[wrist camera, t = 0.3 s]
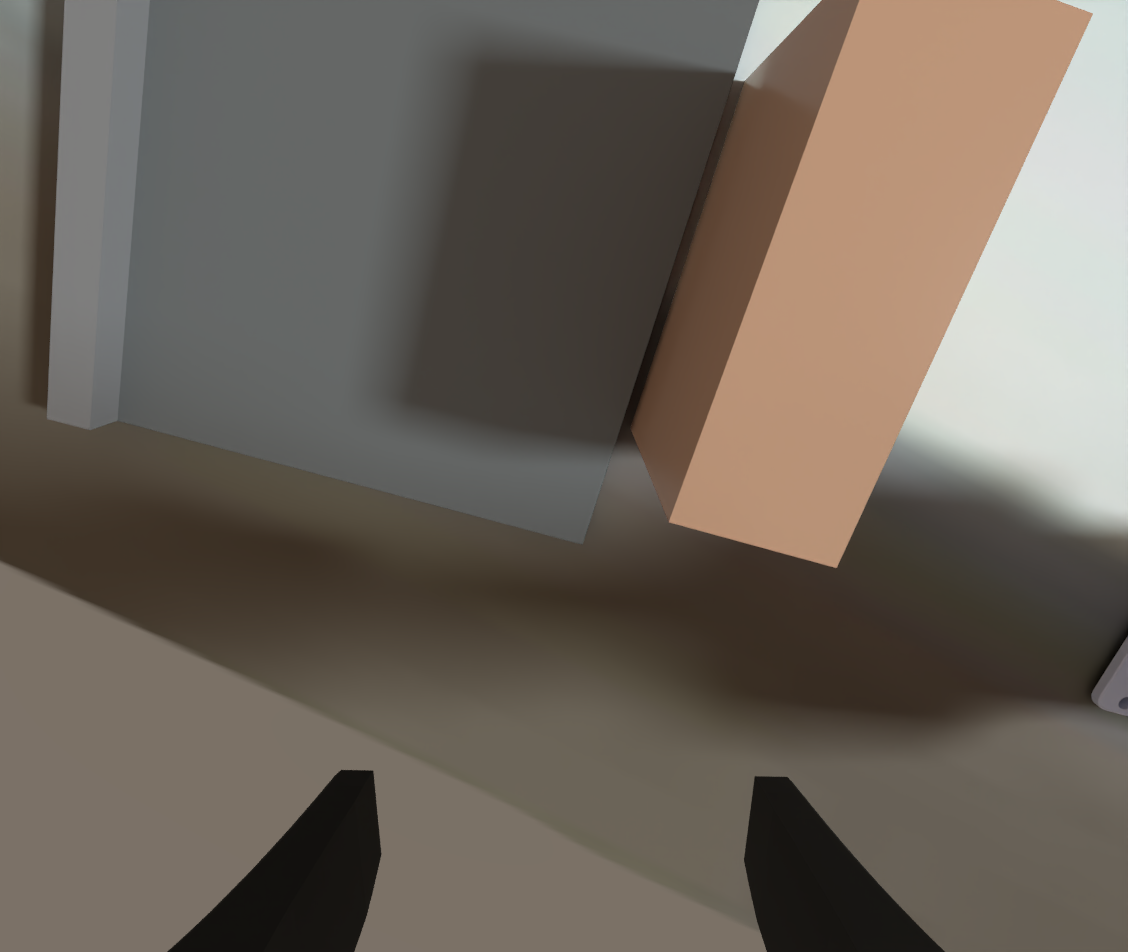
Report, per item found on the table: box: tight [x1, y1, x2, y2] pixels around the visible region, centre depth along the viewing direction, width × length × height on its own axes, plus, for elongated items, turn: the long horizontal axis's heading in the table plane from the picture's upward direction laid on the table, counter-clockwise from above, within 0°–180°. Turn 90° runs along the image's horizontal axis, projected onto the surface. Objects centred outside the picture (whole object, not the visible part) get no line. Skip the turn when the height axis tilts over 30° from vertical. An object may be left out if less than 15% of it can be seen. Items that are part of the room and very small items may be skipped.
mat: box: [47, 0, 759, 545], centre depth 17 cm, size 16×18×2 cm
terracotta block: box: [630, 0, 1093, 568], centre depth 15 cm, size 4×10×8 cm, turn 164°
